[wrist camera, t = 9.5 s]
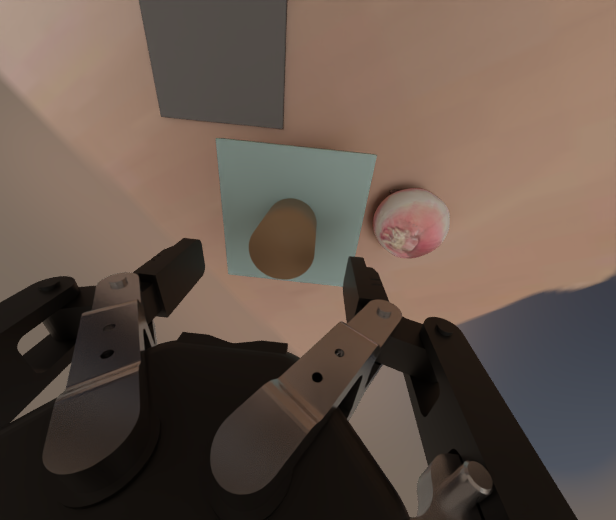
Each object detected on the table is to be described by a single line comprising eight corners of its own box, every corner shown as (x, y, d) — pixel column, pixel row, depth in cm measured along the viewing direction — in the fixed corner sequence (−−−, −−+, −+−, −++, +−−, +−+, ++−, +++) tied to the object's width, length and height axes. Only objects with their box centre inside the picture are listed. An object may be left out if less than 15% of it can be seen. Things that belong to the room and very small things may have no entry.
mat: (127, -74, 18) (124, -78, 18) (288, -59, 18) (288, -62, 18) (163, 116, 25) (160, 116, 24) (283, 129, 25) (282, 128, 24)
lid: (221, 138, 16) (173, 139, 11) (374, 154, 16) (398, 163, 11) (232, 268, 22) (203, 311, 16) (347, 281, 22) (354, 328, 16)
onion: (360, 224, 30) (357, 229, 23) (403, 174, 28) (414, 164, 21) (407, 263, 30) (417, 280, 23) (455, 217, 27) (484, 220, 20)
